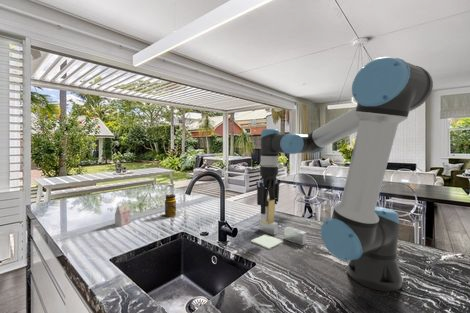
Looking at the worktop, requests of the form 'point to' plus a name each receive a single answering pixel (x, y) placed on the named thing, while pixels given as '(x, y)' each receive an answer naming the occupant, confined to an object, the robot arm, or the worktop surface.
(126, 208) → the milk carton
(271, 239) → the sage pad
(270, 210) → the brass block
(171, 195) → the condiment
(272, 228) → the rack rail
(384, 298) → the worktop surface
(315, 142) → the robot arm
